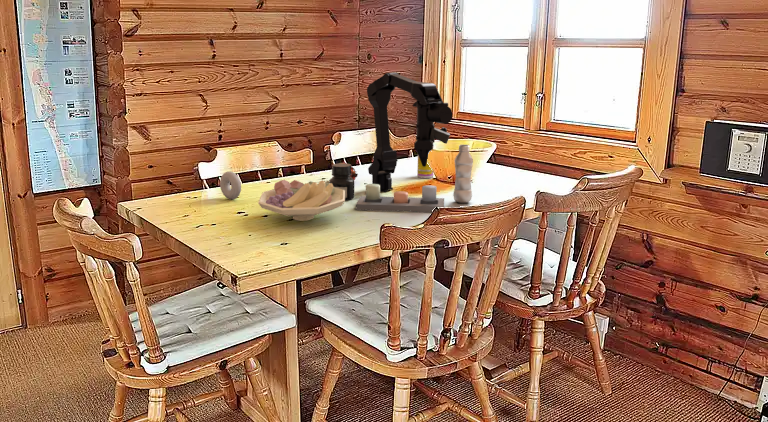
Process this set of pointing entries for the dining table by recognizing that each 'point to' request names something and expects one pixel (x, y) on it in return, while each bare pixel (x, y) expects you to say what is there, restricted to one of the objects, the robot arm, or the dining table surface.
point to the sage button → (372, 191)
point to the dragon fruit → (353, 173)
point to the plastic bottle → (463, 175)
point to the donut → (235, 185)
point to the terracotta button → (401, 197)
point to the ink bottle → (343, 179)
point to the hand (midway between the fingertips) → (424, 166)
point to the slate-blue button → (429, 193)
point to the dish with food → (302, 199)
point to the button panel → (398, 204)
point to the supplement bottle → (424, 170)
